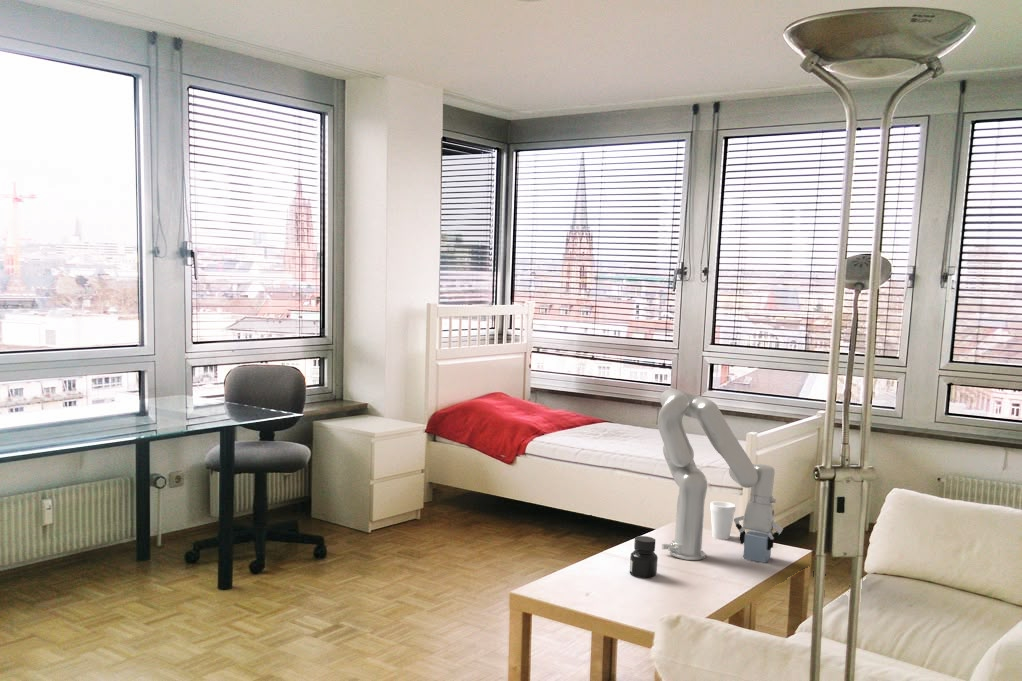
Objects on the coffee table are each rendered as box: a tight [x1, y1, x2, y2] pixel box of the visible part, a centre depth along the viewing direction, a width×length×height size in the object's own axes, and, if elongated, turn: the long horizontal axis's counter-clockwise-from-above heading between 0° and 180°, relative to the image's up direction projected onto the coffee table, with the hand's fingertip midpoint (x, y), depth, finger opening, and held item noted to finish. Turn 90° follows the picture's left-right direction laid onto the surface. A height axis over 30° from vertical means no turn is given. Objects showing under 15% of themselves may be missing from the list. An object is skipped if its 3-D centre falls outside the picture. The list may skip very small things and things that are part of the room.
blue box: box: [742, 530, 772, 564], centre depth 306 cm, size 8×8×9 cm
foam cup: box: [709, 500, 736, 540], centre depth 331 cm, size 10×9×13 cm
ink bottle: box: [629, 535, 658, 579], centre depth 282 cm, size 10×9×12 cm
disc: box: [742, 554, 773, 564], centre depth 306 cm, size 10×10×1 cm
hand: (755, 546), depth 306 cm, fingers open, 9 cm apart
